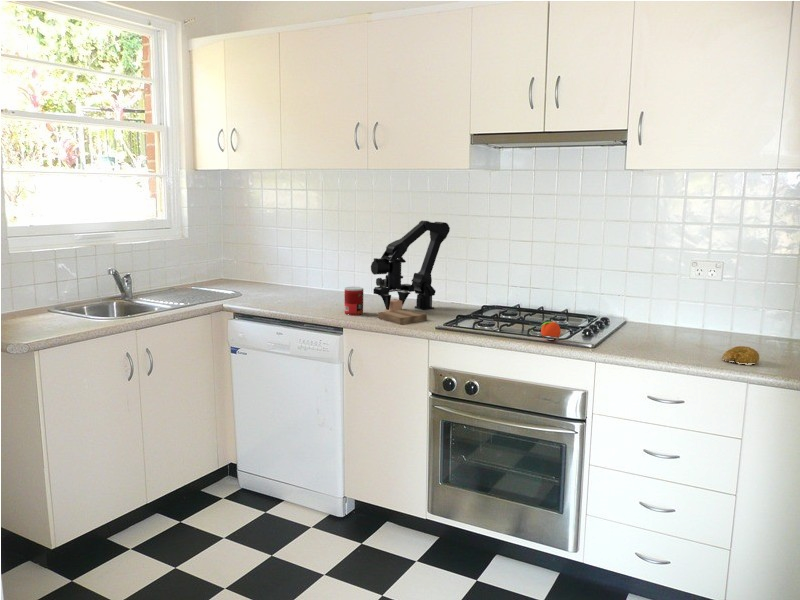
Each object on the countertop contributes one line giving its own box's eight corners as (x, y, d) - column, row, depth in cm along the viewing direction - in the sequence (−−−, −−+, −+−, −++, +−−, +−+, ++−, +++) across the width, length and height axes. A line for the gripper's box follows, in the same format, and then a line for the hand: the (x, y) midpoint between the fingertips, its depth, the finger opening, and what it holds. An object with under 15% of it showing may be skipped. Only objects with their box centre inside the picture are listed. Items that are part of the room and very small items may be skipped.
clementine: (543, 343, 236) (544, 323, 235) (534, 338, 243) (535, 319, 241) (563, 342, 238) (565, 322, 237) (554, 337, 245) (555, 318, 244)
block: (394, 310, 292) (394, 298, 292) (402, 312, 289) (402, 300, 288) (385, 311, 289) (385, 300, 288) (393, 313, 286) (393, 301, 285)
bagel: (716, 357, 221) (717, 343, 220) (750, 359, 220) (752, 344, 220) (728, 365, 212) (729, 351, 211) (764, 367, 211) (766, 352, 210)
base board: (404, 314, 282) (404, 308, 282) (426, 320, 272) (426, 314, 271) (378, 318, 273) (378, 312, 273) (400, 324, 263) (400, 318, 262)
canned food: (360, 316, 278) (360, 289, 276) (342, 314, 280) (342, 288, 278) (365, 312, 286) (365, 287, 284) (347, 311, 287) (347, 286, 285)
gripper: (399, 269, 298) (398, 304, 301) (365, 272, 286) (365, 308, 289) (415, 272, 290) (414, 307, 292) (382, 275, 278) (381, 312, 281)
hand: (393, 309), depth 289 cm, fingers open, 7 cm apart
